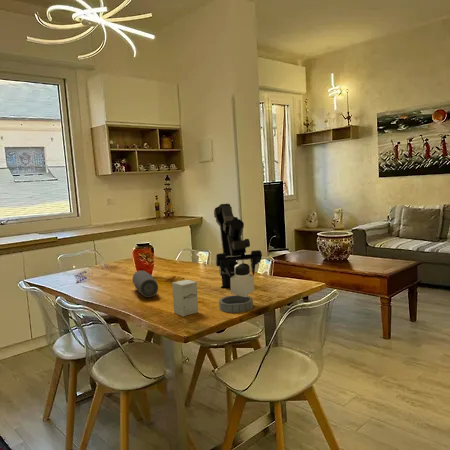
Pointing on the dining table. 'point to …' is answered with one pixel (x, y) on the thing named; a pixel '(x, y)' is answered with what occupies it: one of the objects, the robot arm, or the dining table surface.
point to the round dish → (235, 304)
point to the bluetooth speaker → (145, 283)
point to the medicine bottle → (242, 280)
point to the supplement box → (185, 297)
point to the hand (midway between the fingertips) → (242, 275)
